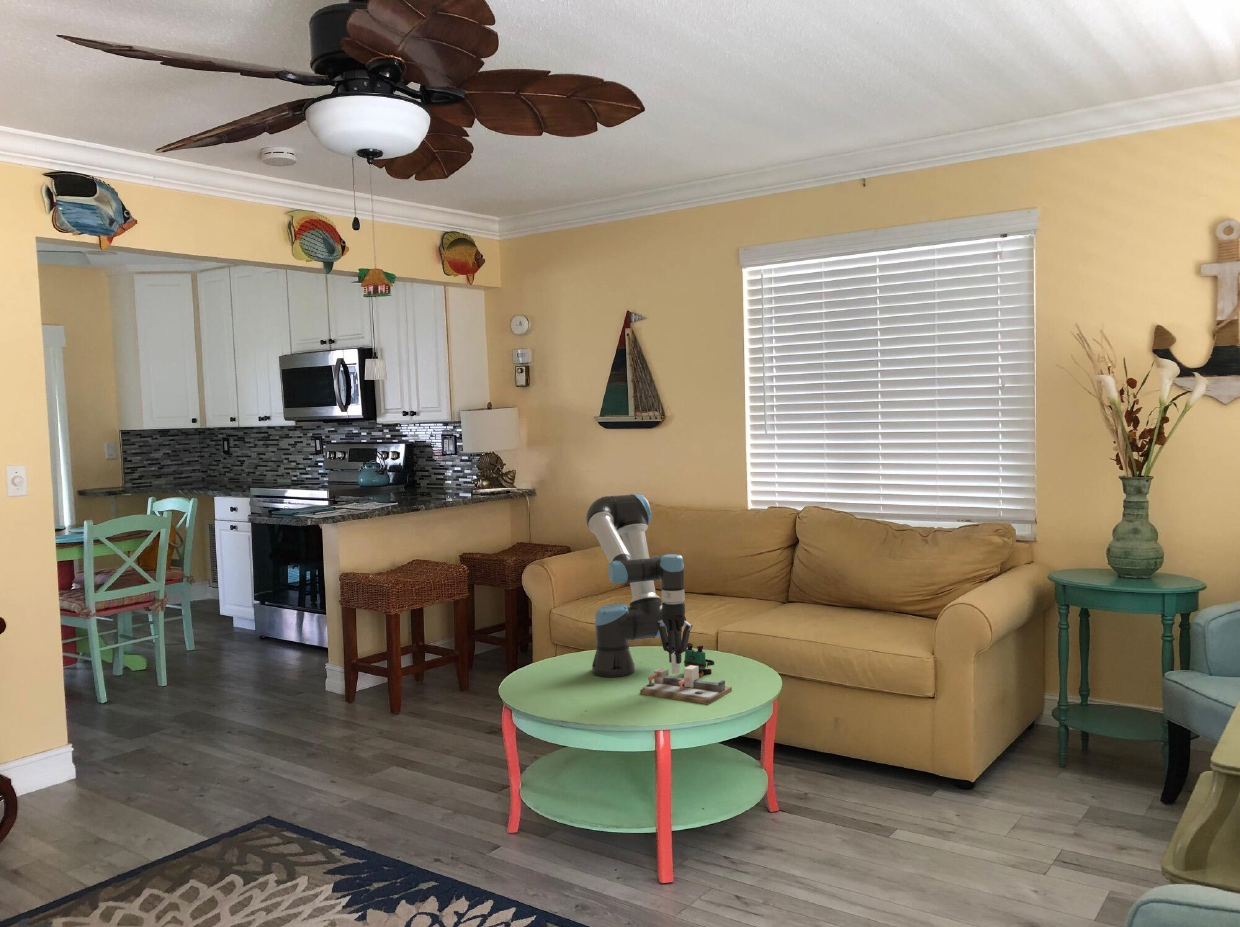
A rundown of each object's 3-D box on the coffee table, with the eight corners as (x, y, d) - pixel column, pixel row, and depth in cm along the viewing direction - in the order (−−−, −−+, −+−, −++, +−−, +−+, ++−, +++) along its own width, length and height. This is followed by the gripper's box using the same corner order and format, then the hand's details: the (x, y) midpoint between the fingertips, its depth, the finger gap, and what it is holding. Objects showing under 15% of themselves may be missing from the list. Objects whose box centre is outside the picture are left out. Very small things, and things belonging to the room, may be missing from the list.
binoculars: (718, 643, 328) (700, 646, 321) (717, 674, 328) (699, 677, 321) (698, 640, 334) (680, 643, 327) (697, 670, 334) (679, 673, 327)
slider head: (676, 691, 302) (675, 672, 302) (691, 683, 310) (690, 665, 310) (684, 692, 300) (683, 673, 300) (699, 684, 309) (698, 666, 308)
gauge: (640, 693, 306) (639, 677, 305) (665, 680, 319) (664, 665, 319) (708, 704, 292) (708, 687, 292) (731, 690, 305) (731, 674, 305)
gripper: (650, 602, 310) (653, 673, 311) (685, 605, 303) (687, 678, 304) (662, 598, 316) (664, 667, 317) (696, 601, 309) (698, 672, 310)
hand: (675, 672), depth 310 cm, fingers closed
